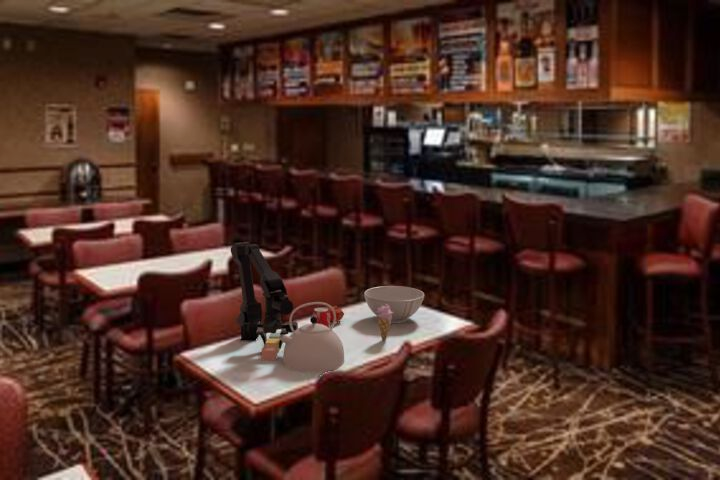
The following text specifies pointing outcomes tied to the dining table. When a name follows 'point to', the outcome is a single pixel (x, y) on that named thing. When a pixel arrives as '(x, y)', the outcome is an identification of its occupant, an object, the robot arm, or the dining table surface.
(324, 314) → the soda can
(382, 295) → the decorative bowl
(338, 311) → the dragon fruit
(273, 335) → the teal base brick
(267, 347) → the terracotta brick
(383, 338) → the ice cream cone
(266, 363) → the dining table surface
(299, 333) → the kettle
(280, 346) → the robot arm
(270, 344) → the mustard brick
